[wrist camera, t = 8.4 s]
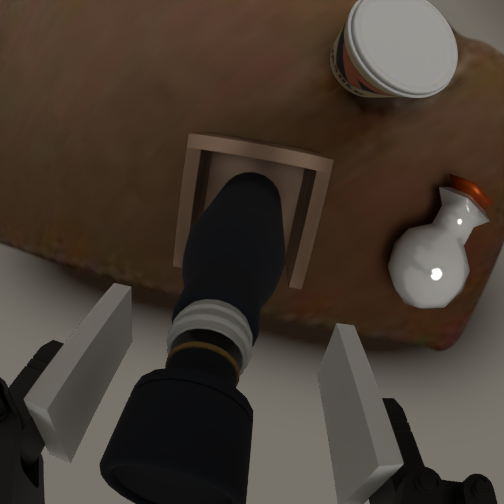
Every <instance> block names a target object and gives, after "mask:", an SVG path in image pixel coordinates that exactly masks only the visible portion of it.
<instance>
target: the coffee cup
mask: <svg viewBox="0 0 504 504" xmlns="http://www.w3.org/2000/svg"><path fill="white" fill-rule="evenodd" d="M457 60H458V52H457V45H456V40H455V37H454V35H453V32H452V30H451V28H450V26H449V24H448V23H447V21H446V20H445V18H444V17H443V16H442V15H441V13H440V12H439V11H438V10H437V9H436V8H435V7H434V6H433V5H431V4H430V3H429V2H427V1H426V0H358V1H357V2H356V3H355V4H354V6H353V7H352V9H351V11H350V14H349V16H348V19H347V20H346V22H345V24H344V26H343V28H342V29H341V31H340V33H339V35H338V37H337V39H336V40H335V42H334V44H333V47H332V49H331V53H330V65H331V69H332V72H333V74H334V76H335V78H336V79H337V81H338V82H339V83H340V84H341V85H342V86H343V87H344V88H345V89H346V90H348V91H349V92H351V93H353V94H355V95H358V96H361V97H368V98H381V97H409V98H424V97H429V96H431V95H434V94H436V93H438V92H440V91H441V90H442V89H444V88H445V87H446V86H447V84H448V83H449V82H450V80H451V79H452V77H453V75H454V72H455V70H456V66H457Z"/></svg>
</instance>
